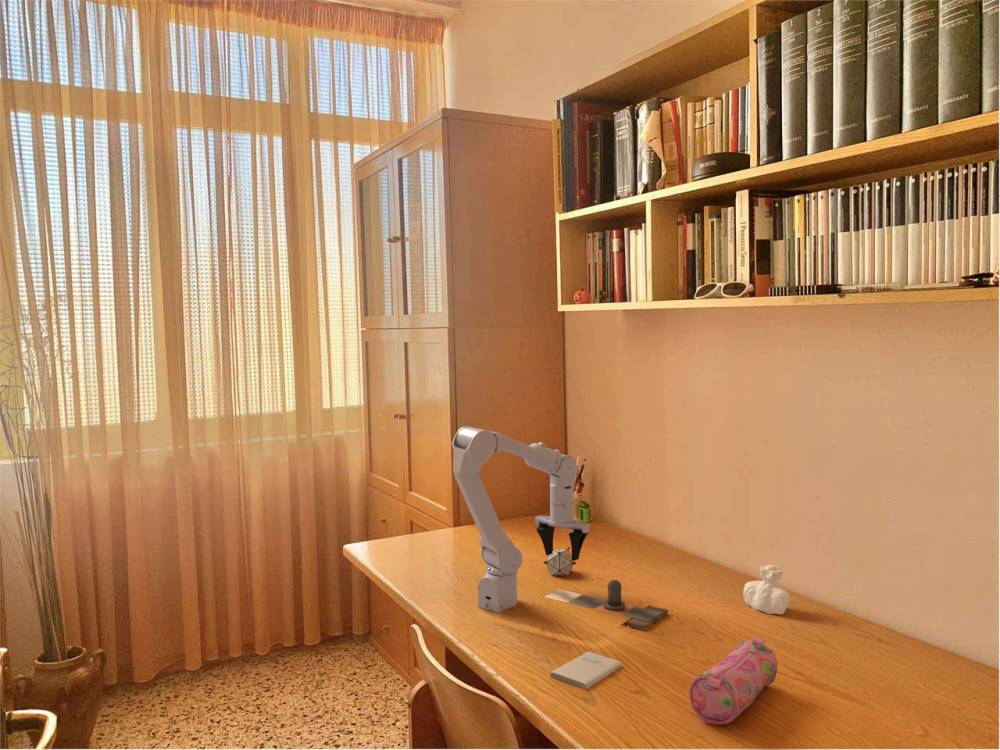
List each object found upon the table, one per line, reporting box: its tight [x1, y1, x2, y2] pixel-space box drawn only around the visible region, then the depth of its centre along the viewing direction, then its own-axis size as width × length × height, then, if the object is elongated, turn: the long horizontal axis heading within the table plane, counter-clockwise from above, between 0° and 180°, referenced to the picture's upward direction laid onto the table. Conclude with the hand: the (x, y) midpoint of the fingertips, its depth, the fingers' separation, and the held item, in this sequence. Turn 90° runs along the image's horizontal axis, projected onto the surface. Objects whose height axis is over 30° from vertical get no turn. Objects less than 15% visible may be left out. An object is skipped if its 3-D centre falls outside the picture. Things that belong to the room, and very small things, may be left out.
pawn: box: [603, 579, 626, 611], centre depth 184 cm, size 5×5×6 cm
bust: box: [743, 564, 792, 615], centre depth 185 cm, size 12×8×11 cm
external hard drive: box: [550, 651, 623, 690], centre depth 154 cm, size 2×8×12 cm
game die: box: [543, 546, 577, 577], centre depth 209 cm, size 9×8×10 cm
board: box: [544, 588, 669, 631], centre depth 186 cm, size 12×28×1 cm, turn 54°
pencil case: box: [688, 637, 778, 726], centre depth 141 cm, size 21×9×9 cm, turn 141°
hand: (562, 556), depth 196 cm, fingers open, 7 cm apart
